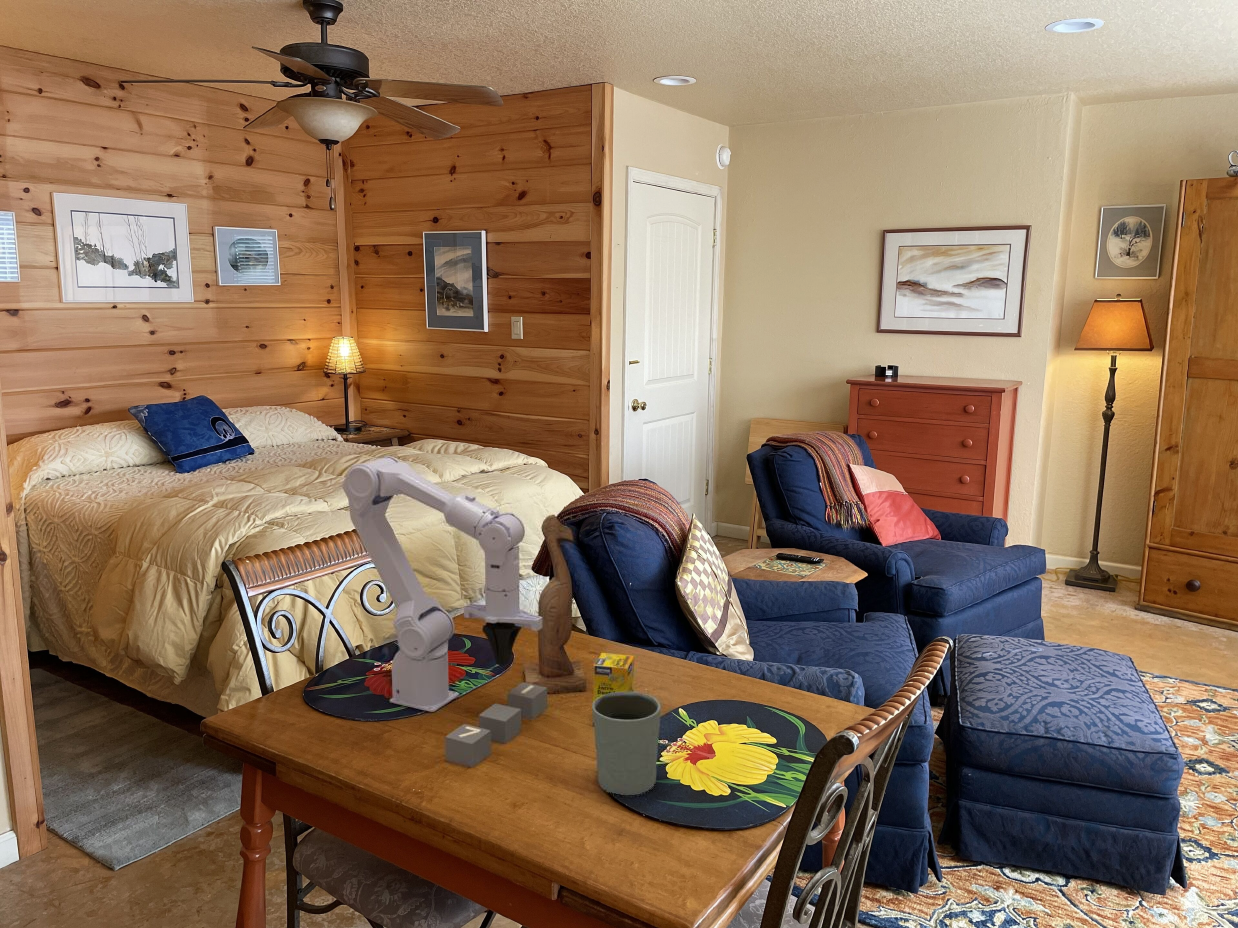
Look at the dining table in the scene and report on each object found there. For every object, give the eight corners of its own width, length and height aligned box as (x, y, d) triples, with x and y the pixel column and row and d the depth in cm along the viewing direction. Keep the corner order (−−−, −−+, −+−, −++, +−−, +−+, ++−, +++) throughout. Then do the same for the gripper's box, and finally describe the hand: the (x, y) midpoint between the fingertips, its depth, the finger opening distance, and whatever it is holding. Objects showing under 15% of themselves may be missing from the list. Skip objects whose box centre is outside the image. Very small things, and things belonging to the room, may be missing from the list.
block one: (507, 714, 158) (507, 691, 157) (522, 703, 162) (522, 681, 161) (532, 720, 155) (532, 697, 155) (547, 709, 160) (547, 686, 159)
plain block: (478, 738, 149) (478, 715, 148) (495, 725, 153) (495, 703, 153) (505, 744, 147) (505, 721, 146) (521, 731, 151) (521, 708, 151)
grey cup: (637, 806, 129) (638, 726, 127) (577, 785, 134) (578, 708, 132) (671, 775, 137) (673, 700, 135) (614, 757, 143) (615, 684, 141)
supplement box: (627, 730, 152) (628, 668, 150) (592, 727, 153) (592, 665, 151) (634, 715, 157) (634, 654, 156) (599, 711, 159) (600, 651, 157)
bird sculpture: (590, 693, 167) (596, 521, 162) (526, 696, 164) (530, 522, 159) (578, 670, 178) (584, 508, 173) (518, 673, 175) (522, 509, 170)
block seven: (445, 760, 141) (445, 735, 141) (464, 747, 146) (464, 722, 145) (472, 768, 139) (472, 742, 138) (491, 754, 144) (490, 729, 143)
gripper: (452, 586, 154) (453, 663, 156) (526, 599, 147) (526, 679, 150) (476, 575, 160) (477, 649, 162) (548, 588, 154) (548, 664, 156)
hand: (502, 663), depth 156 cm, fingers closed
